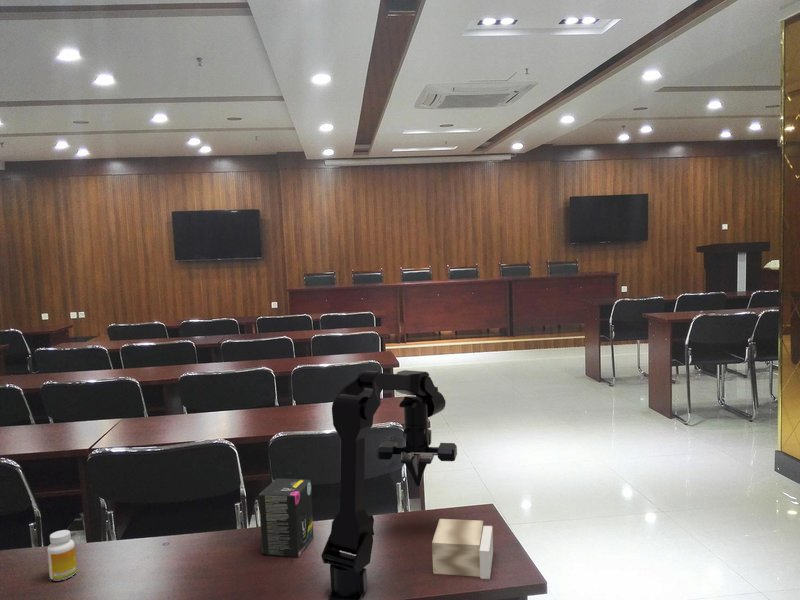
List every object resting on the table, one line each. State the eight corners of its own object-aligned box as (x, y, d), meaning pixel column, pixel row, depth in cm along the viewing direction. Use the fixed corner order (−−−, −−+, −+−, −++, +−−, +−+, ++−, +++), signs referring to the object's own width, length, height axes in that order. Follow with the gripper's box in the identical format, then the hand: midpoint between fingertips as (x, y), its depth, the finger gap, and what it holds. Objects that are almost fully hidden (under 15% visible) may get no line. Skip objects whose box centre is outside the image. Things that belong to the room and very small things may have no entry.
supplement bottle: (82, 573, 138) (79, 531, 137) (58, 584, 134) (55, 541, 133) (68, 568, 141) (64, 526, 140) (44, 579, 136) (40, 536, 136)
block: (433, 574, 132) (432, 542, 132) (440, 548, 144) (439, 518, 143) (480, 577, 130) (479, 545, 130) (484, 550, 142) (483, 520, 141)
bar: (480, 578, 129) (479, 550, 129) (484, 551, 141) (483, 525, 141) (489, 579, 129) (489, 551, 128) (493, 551, 141) (492, 526, 140)
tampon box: (299, 558, 141) (295, 495, 140) (261, 555, 143) (257, 494, 142) (315, 536, 152) (312, 478, 151) (279, 534, 154) (276, 477, 153)
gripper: (458, 414, 155) (460, 475, 156) (385, 413, 159) (388, 472, 160) (453, 426, 144) (455, 492, 145) (375, 425, 148) (378, 489, 149)
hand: (418, 485), depth 150 cm, fingers closed
